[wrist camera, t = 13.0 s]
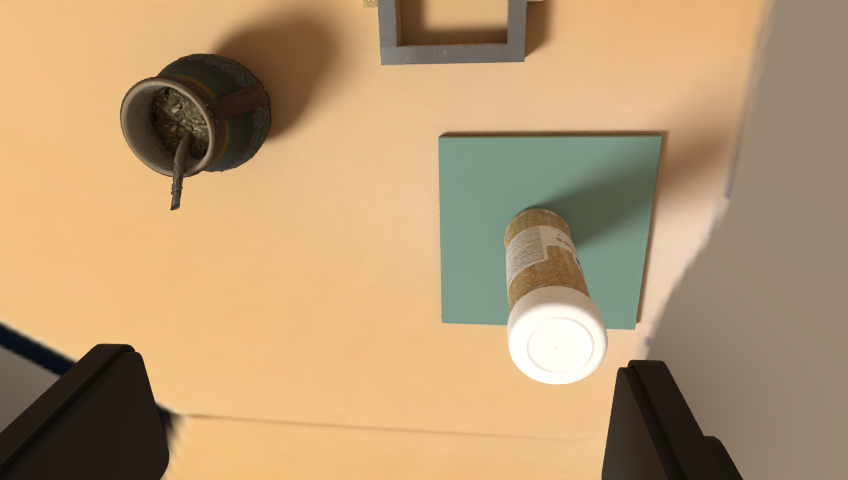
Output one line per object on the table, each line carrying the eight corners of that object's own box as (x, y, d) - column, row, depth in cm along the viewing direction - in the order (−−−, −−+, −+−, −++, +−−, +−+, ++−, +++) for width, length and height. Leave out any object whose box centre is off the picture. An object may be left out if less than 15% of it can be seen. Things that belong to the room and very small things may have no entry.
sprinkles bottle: (582, 245, 37) (628, 362, 25) (525, 277, 38) (541, 403, 26) (547, 192, 36) (577, 287, 23) (489, 227, 37) (489, 334, 25)
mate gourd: (250, 30, 35) (162, 37, 25) (304, 139, 37) (242, 181, 28) (161, 75, 36) (50, 96, 27) (219, 176, 39) (134, 227, 30)
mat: (442, 318, 41) (442, 322, 41) (439, 136, 36) (438, 138, 35) (632, 325, 40) (634, 329, 39) (659, 135, 34) (662, 136, 34)
